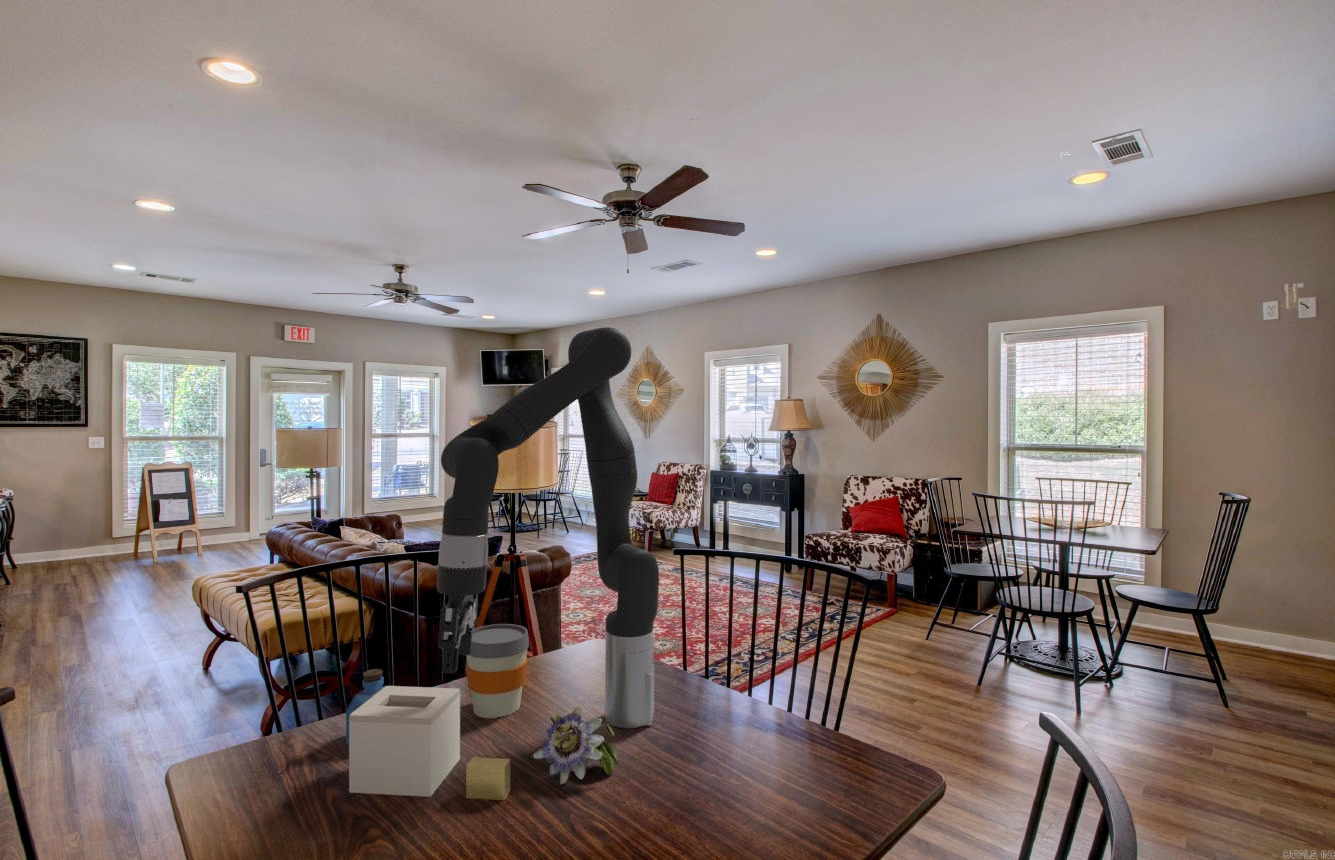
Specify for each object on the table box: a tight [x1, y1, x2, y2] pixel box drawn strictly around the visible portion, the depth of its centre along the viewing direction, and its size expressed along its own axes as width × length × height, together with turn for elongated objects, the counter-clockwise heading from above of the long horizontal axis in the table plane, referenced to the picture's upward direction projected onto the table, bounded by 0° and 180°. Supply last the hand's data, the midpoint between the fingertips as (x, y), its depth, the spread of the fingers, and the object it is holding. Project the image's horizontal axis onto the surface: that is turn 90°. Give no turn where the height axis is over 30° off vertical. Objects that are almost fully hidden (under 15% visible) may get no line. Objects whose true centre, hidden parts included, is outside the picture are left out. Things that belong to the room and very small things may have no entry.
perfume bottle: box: [345, 668, 385, 746], centre depth 115 cm, size 6×6×12 cm
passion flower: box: [532, 705, 619, 785], centre depth 105 cm, size 11×11×12 cm
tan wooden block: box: [465, 756, 511, 801], centre depth 98 cm, size 6×2×5 cm, turn 85°
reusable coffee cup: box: [465, 623, 530, 719], centre depth 127 cm, size 13×13×15 cm
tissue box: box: [348, 685, 461, 798], centre depth 103 cm, size 13×11×12 cm
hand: (456, 663), depth 102 cm, fingers open, 8 cm apart
